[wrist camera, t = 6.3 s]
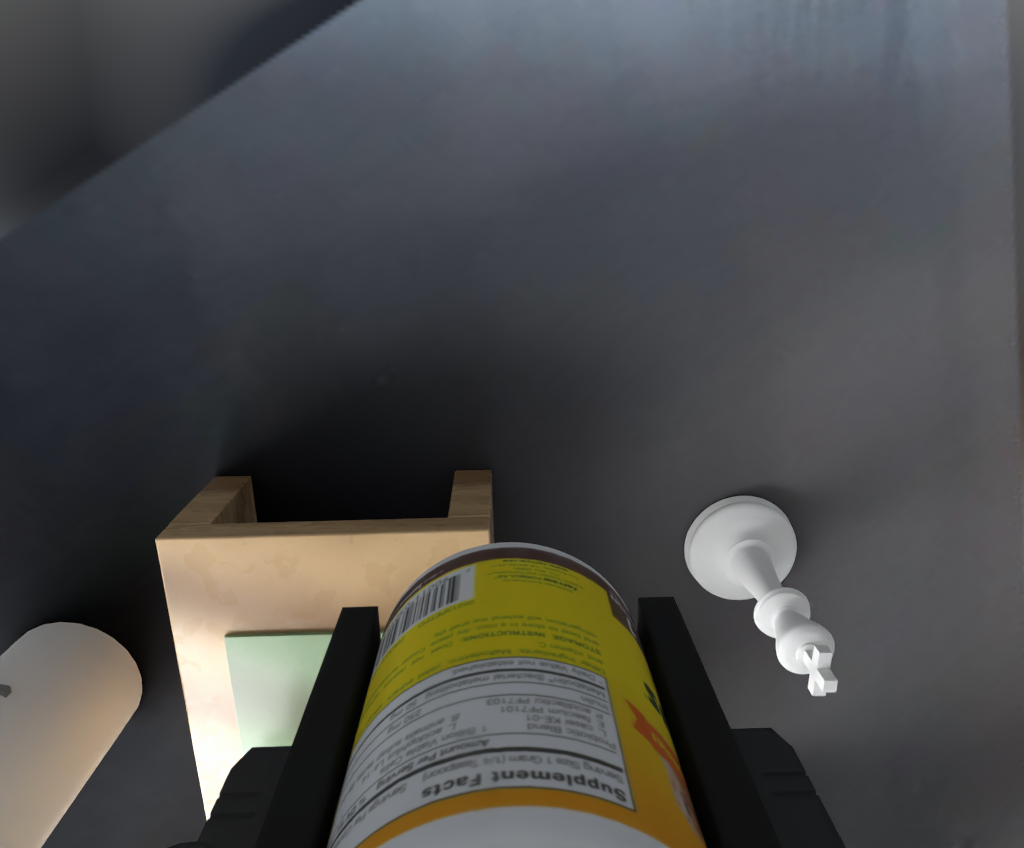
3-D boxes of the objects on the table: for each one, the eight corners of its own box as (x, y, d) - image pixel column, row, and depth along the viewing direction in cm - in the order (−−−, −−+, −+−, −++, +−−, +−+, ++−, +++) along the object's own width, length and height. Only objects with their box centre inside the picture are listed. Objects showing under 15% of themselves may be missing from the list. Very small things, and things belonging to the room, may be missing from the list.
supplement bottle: (610, 761, 18) (749, 1473, 8) (371, 733, 17) (208, 1442, 8) (661, 546, 16) (914, 1110, 6) (398, 511, 16) (232, 1050, 6)
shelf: (214, 476, 33) (18, 678, 19) (491, 469, 33) (486, 665, 20) (259, 776, 38) (128, 1102, 24) (501, 769, 38) (502, 1090, 24)
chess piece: (679, 593, 35) (746, 749, 25) (688, 495, 33) (763, 620, 24) (786, 594, 35) (892, 748, 25) (799, 495, 33) (918, 620, 24)
